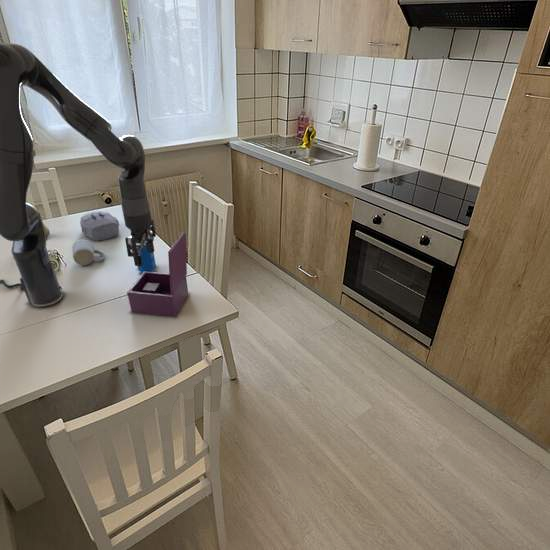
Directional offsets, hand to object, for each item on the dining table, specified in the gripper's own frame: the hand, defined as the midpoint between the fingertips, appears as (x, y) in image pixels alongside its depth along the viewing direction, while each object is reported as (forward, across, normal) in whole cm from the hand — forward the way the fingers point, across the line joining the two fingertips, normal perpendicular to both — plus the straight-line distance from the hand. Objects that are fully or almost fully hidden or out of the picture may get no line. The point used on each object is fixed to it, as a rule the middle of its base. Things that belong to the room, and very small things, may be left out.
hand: (145, 258), depth 121 cm
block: (+16, 0, 0) cm, 16 cm away
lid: (+1, 0, +10) cm, 10 cm away
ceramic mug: (+17, -22, -35) cm, 45 cm away
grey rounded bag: (+17, -46, -44) cm, 66 cm away
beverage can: (+17, -19, -10) cm, 28 cm away
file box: (+17, 0, +3) cm, 17 cm away
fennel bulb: (+13, -56, -38) cm, 69 cm away
